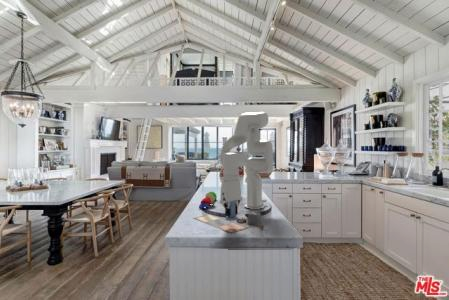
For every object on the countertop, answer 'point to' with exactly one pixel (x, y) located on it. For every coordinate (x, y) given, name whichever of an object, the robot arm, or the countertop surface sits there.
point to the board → (221, 223)
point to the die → (254, 218)
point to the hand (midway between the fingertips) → (231, 214)
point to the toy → (208, 200)
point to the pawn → (232, 212)
